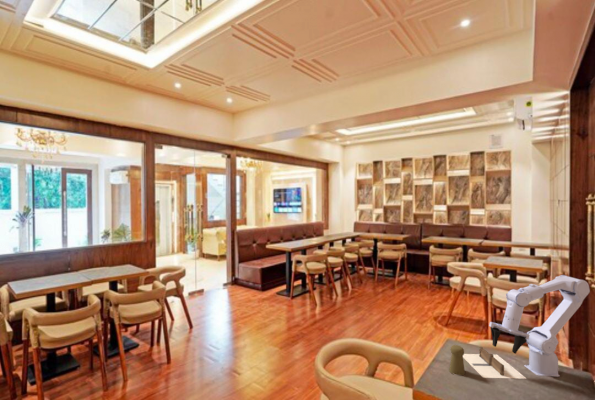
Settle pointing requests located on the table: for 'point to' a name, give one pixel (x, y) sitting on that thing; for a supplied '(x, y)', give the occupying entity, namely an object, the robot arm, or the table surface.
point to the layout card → (488, 370)
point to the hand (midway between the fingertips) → (503, 349)
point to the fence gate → (498, 366)
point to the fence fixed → (485, 356)
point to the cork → (457, 360)
